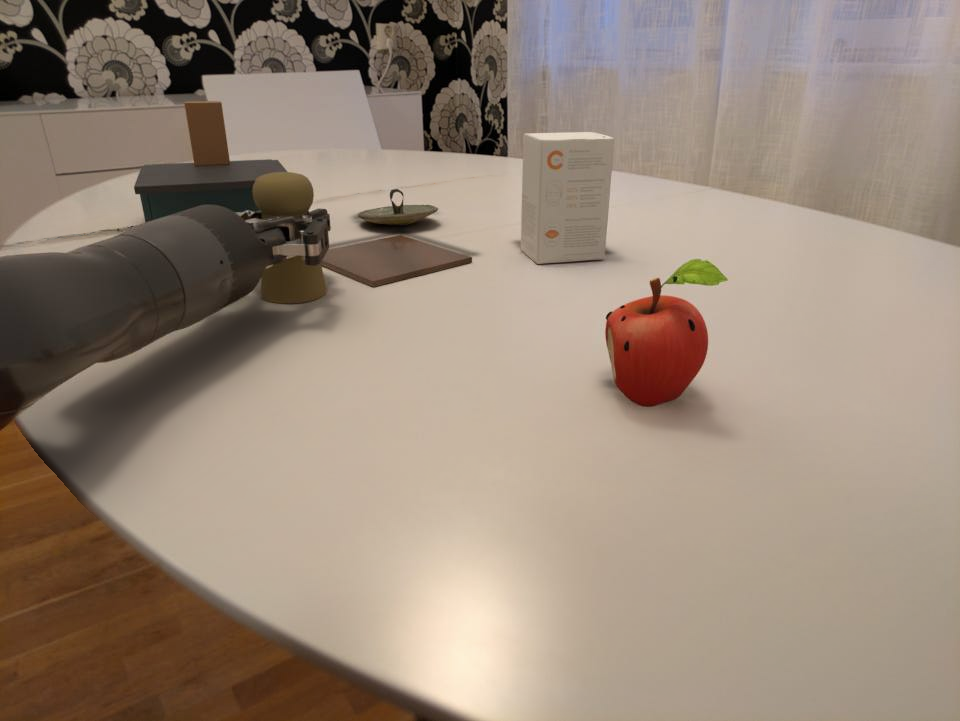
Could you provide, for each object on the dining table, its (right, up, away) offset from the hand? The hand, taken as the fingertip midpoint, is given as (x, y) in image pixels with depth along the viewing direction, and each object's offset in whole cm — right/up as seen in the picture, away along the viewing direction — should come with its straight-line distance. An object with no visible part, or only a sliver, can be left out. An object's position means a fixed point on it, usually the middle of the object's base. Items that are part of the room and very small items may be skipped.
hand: (301, 218), depth 63 cm
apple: (+28, -16, -19) cm, 37 cm away
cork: (-1, -7, 0) cm, 7 cm away
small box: (+26, -2, +13) cm, 29 cm away
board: (+7, -2, +10) cm, 13 cm away
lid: (+6, +4, +26) cm, 27 cm away
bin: (-16, +3, +22) cm, 27 cm away
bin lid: (-13, +7, +13) cm, 20 cm away
